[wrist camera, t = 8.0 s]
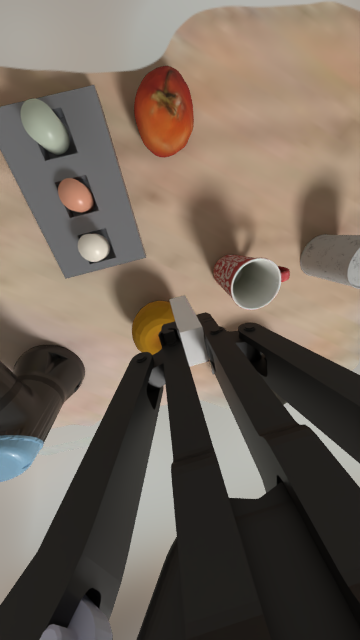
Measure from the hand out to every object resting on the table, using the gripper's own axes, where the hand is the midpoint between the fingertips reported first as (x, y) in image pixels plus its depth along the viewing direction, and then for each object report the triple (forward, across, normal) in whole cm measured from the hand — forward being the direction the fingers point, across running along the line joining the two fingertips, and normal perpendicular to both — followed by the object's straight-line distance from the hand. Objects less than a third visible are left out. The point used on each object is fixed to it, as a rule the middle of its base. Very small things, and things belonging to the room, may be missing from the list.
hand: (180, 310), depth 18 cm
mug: (+27, +16, -5) cm, 31 cm away
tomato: (+27, +6, +22) cm, 35 cm away
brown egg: (+25, -11, +15) cm, 31 cm away
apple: (+27, -4, -12) cm, 29 cm away
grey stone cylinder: (+27, +37, -7) cm, 46 cm away
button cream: (+23, -11, +7) cm, 27 cm away
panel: (+26, -11, +15) cm, 32 cm away
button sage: (+23, -11, +23) cm, 34 cm away
